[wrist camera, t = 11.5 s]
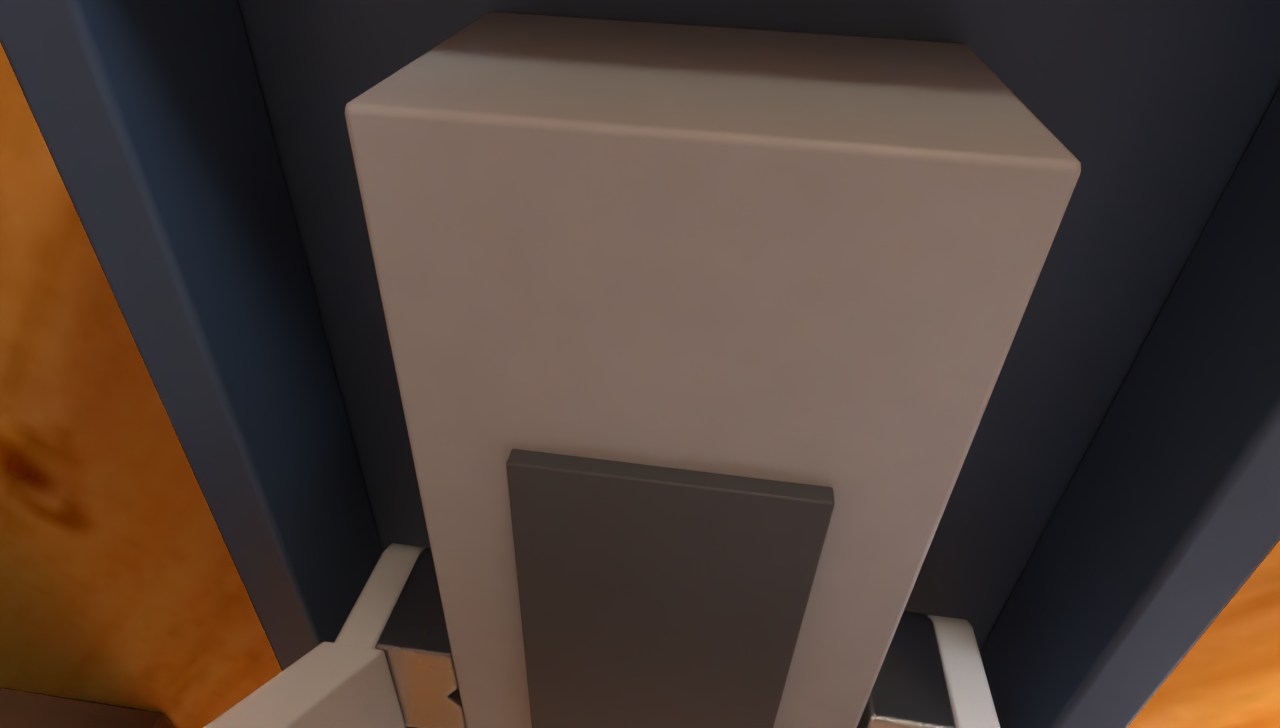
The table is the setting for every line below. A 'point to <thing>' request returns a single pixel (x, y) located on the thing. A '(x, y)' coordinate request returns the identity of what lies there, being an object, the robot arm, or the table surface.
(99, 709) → the shelf
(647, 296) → the remote
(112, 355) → the table surface
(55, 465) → the table surface
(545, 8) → the tray
